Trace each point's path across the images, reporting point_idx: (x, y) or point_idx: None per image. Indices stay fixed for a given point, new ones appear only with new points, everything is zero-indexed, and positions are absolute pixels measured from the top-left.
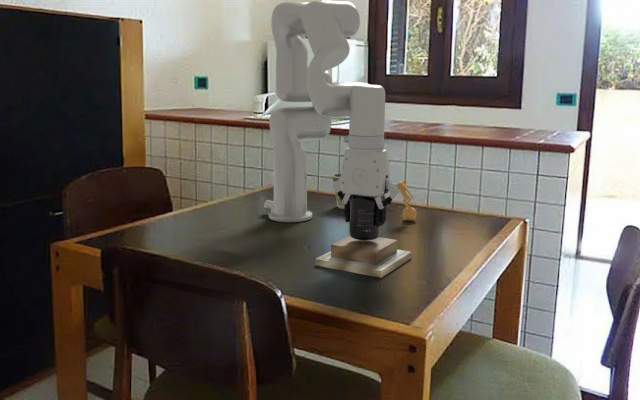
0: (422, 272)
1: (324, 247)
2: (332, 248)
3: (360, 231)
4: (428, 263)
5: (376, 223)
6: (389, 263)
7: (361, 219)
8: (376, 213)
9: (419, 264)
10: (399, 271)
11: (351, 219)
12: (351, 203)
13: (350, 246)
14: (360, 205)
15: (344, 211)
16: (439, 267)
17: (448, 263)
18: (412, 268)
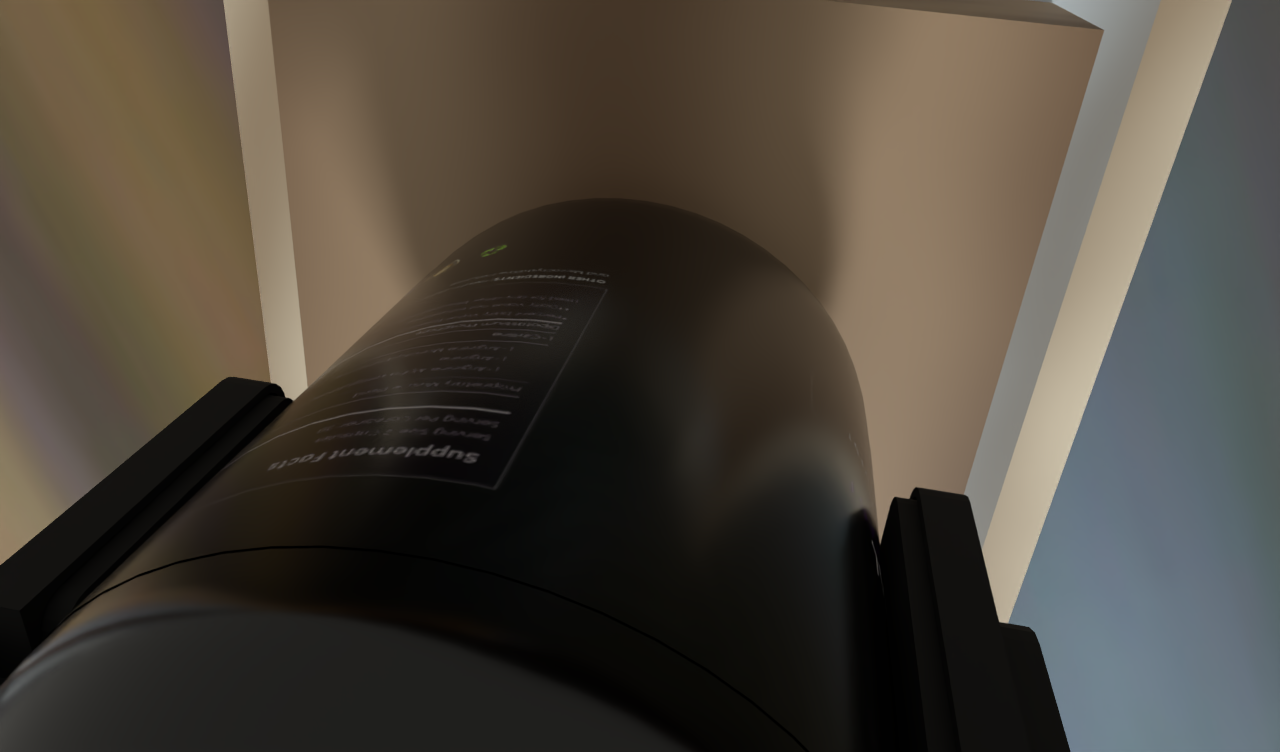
0: (28, 162)
1: (1272, 568)
2: (1057, 20)
3: (558, 237)
4: (134, 429)
5: (235, 404)
6: (272, 101)
7: (460, 336)
8: (96, 528)
9: (177, 377)
10: (209, 93)
11: (761, 394)
12: (740, 707)
13: (742, 68)
14: (323, 560)
15: (1053, 710)
16: (5, 360)
17: (15, 482)
18: (163, 241)
